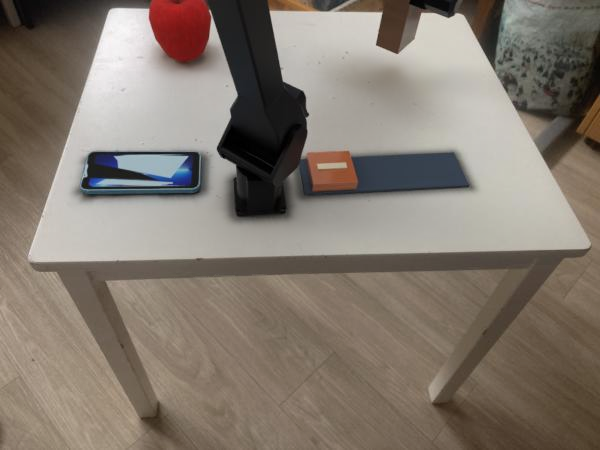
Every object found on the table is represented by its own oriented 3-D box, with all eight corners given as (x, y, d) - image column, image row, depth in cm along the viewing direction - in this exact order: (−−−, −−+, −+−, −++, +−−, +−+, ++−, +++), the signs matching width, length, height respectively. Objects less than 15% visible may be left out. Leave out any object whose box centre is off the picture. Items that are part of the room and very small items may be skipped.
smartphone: (199, 189, 63) (77, 190, 61) (200, 194, 63) (79, 196, 61) (201, 150, 67) (88, 150, 65) (201, 155, 68) (89, 155, 66)
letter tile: (312, 191, 64) (313, 183, 63) (306, 160, 68) (306, 151, 67) (356, 189, 65) (358, 180, 64) (347, 158, 69) (349, 149, 67)
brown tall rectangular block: (397, 54, 76) (417, -26, 66) (375, 45, 77) (391, -35, 68) (414, 39, 79) (435, -40, 70) (392, 30, 80) (410, -48, 71)
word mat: (304, 196, 64) (305, 194, 64) (298, 161, 68) (298, 159, 68) (468, 186, 67) (469, 184, 67) (453, 154, 71) (454, 152, 71)
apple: (225, 59, 83) (221, -4, 74) (177, 79, 78) (167, 14, 70) (192, 34, 87) (185, -29, 78) (144, 52, 82) (131, -13, 74)
